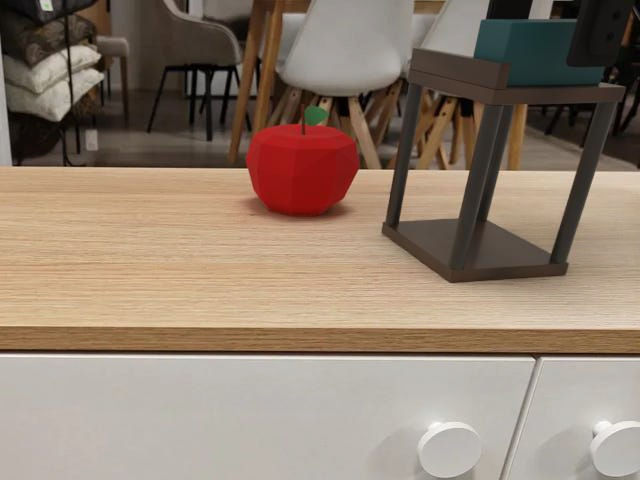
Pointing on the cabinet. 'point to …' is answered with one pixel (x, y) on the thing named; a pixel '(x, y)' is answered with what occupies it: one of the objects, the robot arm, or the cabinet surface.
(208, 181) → the cabinet surface
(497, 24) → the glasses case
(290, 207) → the apple
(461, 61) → the rack
